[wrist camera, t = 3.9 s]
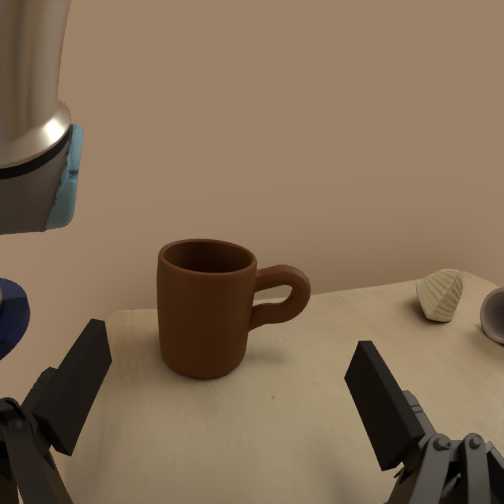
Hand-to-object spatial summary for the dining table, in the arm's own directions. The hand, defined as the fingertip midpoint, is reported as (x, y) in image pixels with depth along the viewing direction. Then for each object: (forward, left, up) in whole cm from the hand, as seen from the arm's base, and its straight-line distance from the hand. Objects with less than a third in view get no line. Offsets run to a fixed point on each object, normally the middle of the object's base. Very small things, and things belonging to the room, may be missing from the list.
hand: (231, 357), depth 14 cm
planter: (+17, +48, -8) cm, 52 cm away
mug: (-7, +5, -8) cm, 12 cm away
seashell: (+2, +35, -8) cm, 36 cm away
